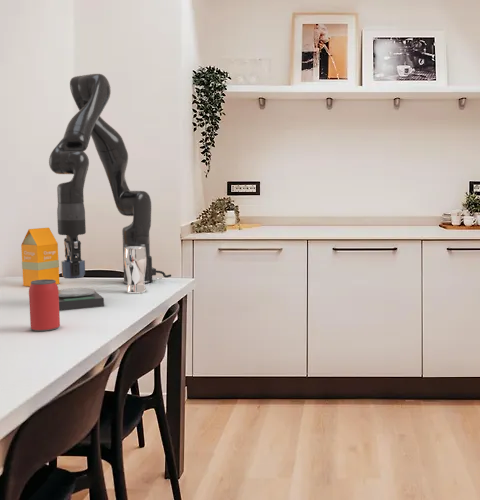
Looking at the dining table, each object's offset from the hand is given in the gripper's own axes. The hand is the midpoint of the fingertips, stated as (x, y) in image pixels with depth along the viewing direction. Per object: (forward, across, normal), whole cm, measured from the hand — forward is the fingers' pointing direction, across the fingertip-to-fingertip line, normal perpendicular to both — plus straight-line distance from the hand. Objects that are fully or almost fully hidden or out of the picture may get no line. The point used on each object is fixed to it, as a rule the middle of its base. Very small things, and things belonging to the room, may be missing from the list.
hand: (73, 274), depth 183 cm
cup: (+1, 0, 0) cm, 1 cm away
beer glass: (+9, +11, -21) cm, 25 cm away
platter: (+6, 0, 0) cm, 6 cm away
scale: (+9, -1, 0) cm, 9 cm away
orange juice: (+9, +42, +4) cm, 43 cm away
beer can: (+9, -30, +11) cm, 33 cm away
